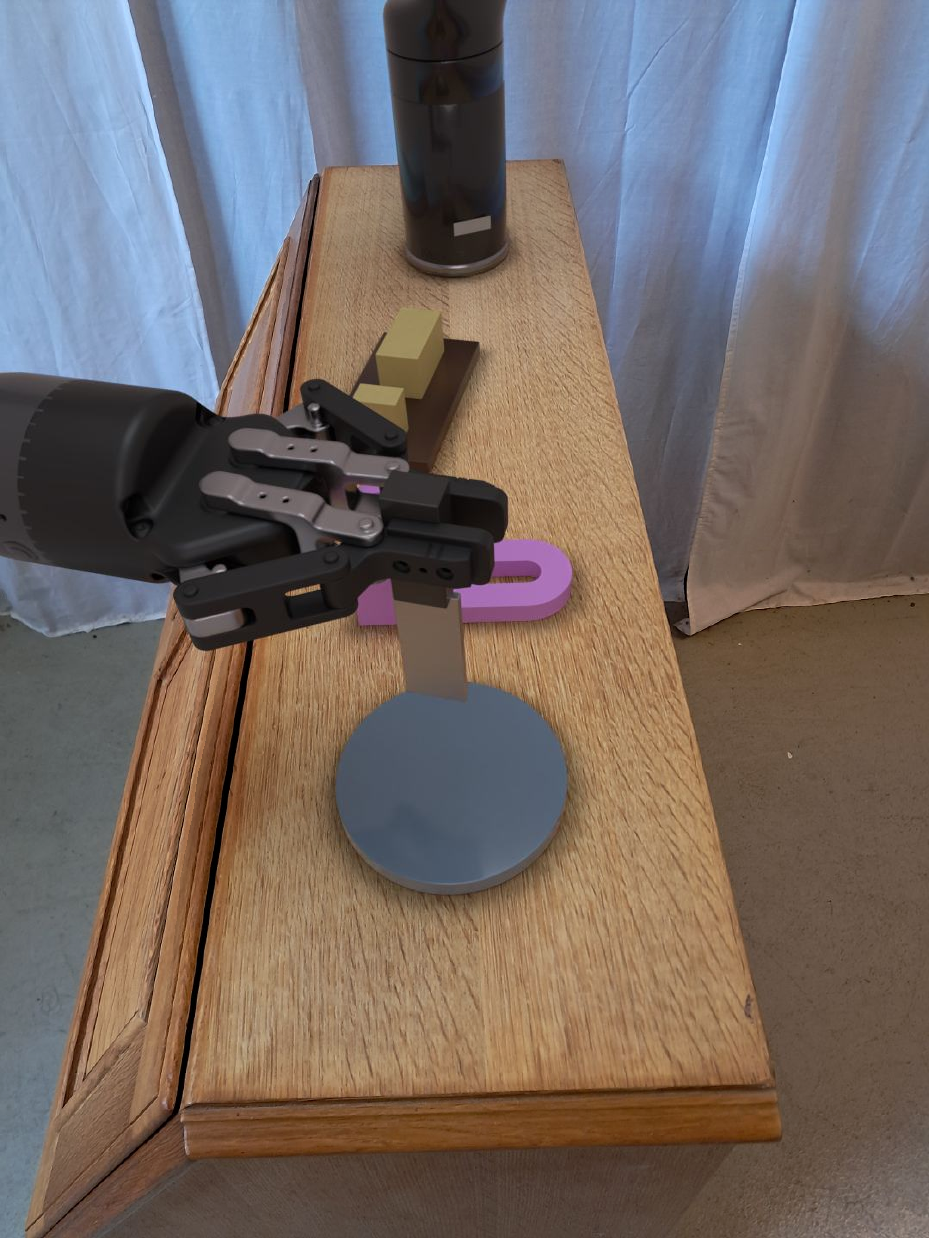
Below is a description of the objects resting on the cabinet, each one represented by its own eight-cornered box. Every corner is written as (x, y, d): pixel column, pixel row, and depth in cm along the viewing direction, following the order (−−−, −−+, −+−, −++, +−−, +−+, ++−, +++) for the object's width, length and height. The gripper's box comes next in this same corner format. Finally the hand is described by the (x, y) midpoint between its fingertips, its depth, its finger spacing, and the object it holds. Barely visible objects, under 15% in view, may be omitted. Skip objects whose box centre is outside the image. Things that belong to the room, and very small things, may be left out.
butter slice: (366, 423, 67) (360, 383, 64) (408, 428, 66) (403, 388, 63) (358, 440, 65) (350, 400, 63) (400, 446, 65) (395, 405, 62)
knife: (412, 674, 43) (383, 468, 33) (471, 685, 42) (458, 478, 33) (402, 702, 42) (369, 497, 32) (462, 713, 41) (446, 508, 32)
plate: (379, 677, 53) (376, 664, 52) (584, 714, 51) (585, 701, 50) (305, 865, 46) (300, 855, 45) (541, 920, 43) (542, 909, 42)
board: (385, 344, 75) (383, 331, 74) (480, 354, 74) (479, 341, 73) (322, 462, 66) (319, 449, 65) (428, 476, 64) (427, 463, 63)
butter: (405, 346, 73) (401, 307, 70) (444, 351, 72) (441, 310, 69) (381, 395, 69) (375, 354, 66) (421, 399, 68) (417, 359, 65)
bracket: (359, 625, 56) (341, 544, 50) (366, 559, 59) (350, 477, 54) (574, 619, 55) (579, 537, 50) (568, 553, 59) (572, 469, 53)
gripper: (-77, 523, 29) (442, 609, 26) (127, 298, 38) (539, 340, 35) (20, 665, 35) (456, 751, 32) (178, 442, 44) (536, 491, 40)
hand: (497, 537), depth 33 cm, fingers closed on knife, 1 cm apart
